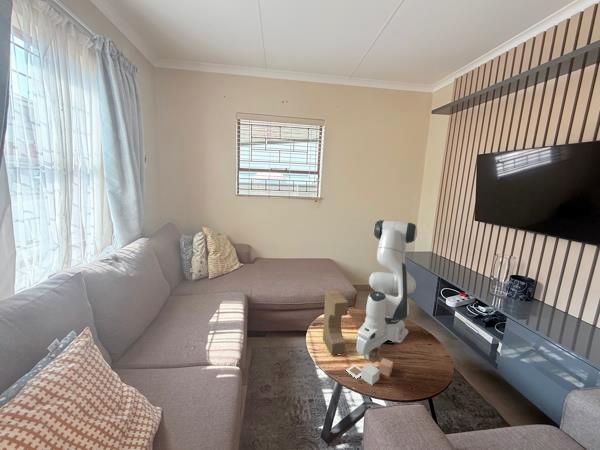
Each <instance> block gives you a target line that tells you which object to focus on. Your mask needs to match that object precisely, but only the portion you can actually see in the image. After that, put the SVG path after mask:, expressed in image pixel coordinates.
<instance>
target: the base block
mask: <svg viewBox="0 0 600 450" xmlns="http://www.w3.org/2000/svg"><path fill="white" fill-rule="evenodd" d="M361 369H362V370H361V377H360V379H362V380H363V379H364V380H363V381H364V382H366V383H367V384H369V385H370V384H371V385H370V386H373V385H374V384H375V383H376V382H378V381H379V380H380V375H381V373H380V370H379V368H377V367H376V366H375V365H373V364H371V362H369V363H367V364H365V366H363V367H362V368H361Z"/></svg>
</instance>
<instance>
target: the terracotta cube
mask: <svg viewBox="0 0 600 450" xmlns="http://www.w3.org/2000/svg"><path fill="white" fill-rule="evenodd" d="M393 366H394V362H393V361H392V360H389V359H387V358H384V357H383V358H381V360H380V362H379V368H378V369H379V370H380V375H384V376H386V377H390V375H391V373H392V372H393Z"/></svg>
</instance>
